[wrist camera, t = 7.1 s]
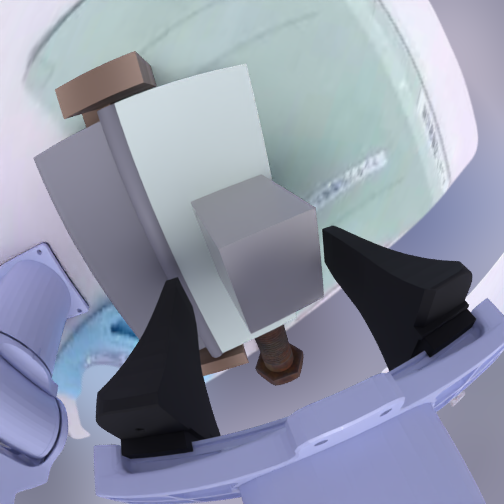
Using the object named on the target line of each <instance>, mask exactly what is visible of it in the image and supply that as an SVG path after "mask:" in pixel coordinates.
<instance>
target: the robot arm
mask: <svg viewBox="0 0 504 504" xmlns="http://www.w3.org/2000/svg"><path fill="white" fill-rule="evenodd" d="M322 232H323V245H324V259H325V263H326V265H327V267H328V269H329V270H330V272H331V274H332V275H333V277H334V279H335V280H336V281H337V283H338V284H339V285H340V286H341V288H342V289H343V290H344V292H345V293H346V294H347V295H348V297H349V298H350V299H351V301H352V302H353V303H354V305H355V306H356V307H357V309H358V310H359V312H360V313H361V315H362V317H363V318H364V320H365V322H366V323H367V325H368V327H369V329H370V331H371V333H372V335H373V336H374V338H375V340H376V342H377V344H378V346H379V348H380V351H381V353H382V355H383V357H384V359H385V362H386V364H387V367H388V369H389V372H387V373H380V374H377V375H375V376H372V377H370V378H368V379H366V380H364V381H361V382H360V383H357V384H355V385H353V386H351V387H349V388H347V389H345V390H342V391H340V392H338V393H335V394H333V395H331V396H328V397H326V398H324V399H321V400H319V401H317V402H314V403H311V404H309V405H307V406H305V407H303V408H301V409H299V410H297V411H295V412H294V413H293V414H291V415H290V416H288V417H285V418H282V419H279V420H276V421H273V422H270V423H266V424H263V425H260V426H256V427H253V428H249V429H246V430H242V431H238V432H235V433H231V434H227V435H222V436H220V432H219V429H218V427H217V424H216V421H215V418H214V414H213V411H212V408H211V404H210V401H209V397H208V393H207V390H206V387H205V382H204V378H203V373H202V368H201V361H200V352H199V342H198V332H197V323H196V319H195V314H194V310H193V306H192V304H191V302H190V300H189V298H188V296H187V294H186V292H185V290H184V288H183V286H182V284H181V282H180V280H179V278H178V277H176V278H173V279H170V280H167V281H166V282H165V284H164V286H163V289H162V291H161V294H160V297H159V299H158V302H157V304H156V307H155V309H154V311H153V314H152V316H151V318H150V320H149V323H148V325H147V327H146V329H145V331H144V333H143V335H142V337H141V338H140V340H139V342H138V343H137V345H136V347H135V348H134V350H133V351H132V353H131V354H130V355H129V357H128V358H127V360H126V361H125V363H124V364H123V365H122V366H121V368H120V369H119V370H118V371H117V373H116V374H115V375H114V376H113V377H112V378H111V379H110V381H109V382H108V383H107V384H106V385H105V386H104V387H103V388H102V389H101V390H100V391H99V392H98V394H97V403H96V422H97V423H98V425H99V426H100V427H101V428H103V429H104V430H106V431H107V432H109V433H111V434H112V435H114V436H116V437H118V438H120V439H121V446H120V445H95V446H94V474H95V489H96V495H97V496H99V497H103V498H106V499H110V500H115V501H119V502H124V503H129V504H183V503H198V502H208V501H217V500H226V499H232V498H239V497H242V500H243V504H486V502H485V500H484V498H483V497H482V494H481V492H480V490H479V488H478V486H477V484H476V482H475V480H474V479H473V476H472V475H471V473H470V471H469V469H468V467H467V465H466V463H465V462H464V460H463V458H462V456H461V454H460V453H459V451H458V449H457V447H456V446H455V444H454V442H453V440H452V439H451V437H450V435H449V433H448V432H447V430H446V429H445V427H444V425H443V423H442V422H441V420H440V419H439V417H438V415H437V414H436V412H437V411H438V410H440V409H441V408H442V407H443V406H445V405H446V404H447V403H449V402H450V401H451V400H452V399H454V398H455V397H456V396H457V395H458V394H460V393H461V392H462V391H463V390H464V389H465V388H466V387H468V386H469V385H470V384H471V383H472V382H473V381H474V380H475V379H476V378H478V376H480V375H481V374H482V373H483V372H484V371H485V370H486V369H487V368H488V367H489V366H490V365H491V364H492V363H493V362H494V361H495V360H496V359H497V358H498V356H499V355H500V354H501V353H502V351H503V350H504V315H503V314H502V313H501V312H500V311H499V310H498V309H497V307H496V306H495V305H494V304H493V303H492V302H491V301H490V300H489V299H488V298H487V299H485V300H484V301H483V302H481V303H480V304H479V305H478V306H476V307H475V308H474V309H473V310H472V312H470V311H469V310H468V309H467V308H468V307H469V304H468V303H467V302H466V301H465V298H466V296H467V293H468V291H469V288H470V285H471V282H472V273H471V271H469V270H468V269H467V268H466V267H465V266H464V265H463V264H462V263H461V262H459V261H442V260H435V259H427V258H421V257H417V256H412V255H408V254H404V253H401V252H397V251H394V250H391V249H388V248H385V247H382V246H380V245H377V244H375V243H372V242H370V241H367V240H365V239H363V238H361V237H358V236H356V235H354V234H352V233H350V232H347V231H345V230H343V229H341V228H338V227H336V226H330V227H327V228H324V229H322ZM39 250H41V252H39ZM80 309H81V310H80ZM88 310H89V307H88V305H87V304H86V302H85V301H84V300H83V298H82V297H81V296H80V294H79V293H78V291H77V290H76V288H75V287H74V286H73V284H72V283H71V281H70V280H69V278H68V277H67V275H66V274H65V272H64V271H63V269H62V268H61V266H60V264H59V263H58V261H57V260H56V258H55V256H54V255H53V253H52V252H51V250H50V248H49V247H48V245H47V244H45V243H42V244H40V245H38V246H36V247H34V248H32V249H30V250H28V251H26V252H24V253H22V254H21V255H19V256H17V257H15V258H13V259H11V260H10V261H8V262H6V263H4V264H3V265H1V266H0V442H1V443H3V444H5V445H6V446H8V447H10V448H8V447H5V446H2V445H0V504H14V500H15V494H16V493H18V492H21V491H24V490H27V489H31V488H34V487H37V486H39V485H42V484H45V483H46V482H47V481H48V476H49V472H50V469H51V466H52V464H53V462H54V461H55V459H56V458H57V457H58V455H59V454H60V453H61V451H62V450H63V448H64V446H65V443H66V440H67V435H68V417H67V412H66V408H65V406H64V404H63V403H62V402H61V400H60V399H58V398H57V397H56V396H57V390H58V385H57V384H56V383H55V382H54V381H53V380H52V374H53V369H54V365H55V360H56V356H57V352H58V348H59V344H60V340H61V336H62V333H63V329H64V325H65V322H66V319H68V318H71V317H74V316H78V315H81V314H84V313H87V312H88Z"/></svg>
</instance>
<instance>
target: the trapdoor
mask: <svg viewBox="0 0 504 504" xmlns="http://www.w3.org/2000/svg"><path fill="white" fill-rule="evenodd" d="M97 114H98V117H99V120H100V122H98V123H95V124H93V125H91V126H89V127H87V128H85V129H83V130H81V131H79V132H77V133H76V134H74V135H72V136H70V137H68V138H66V139H64V140H63V141H61V142H59V143H57V144H56V145H54V146H52V147H50V148H49V149H47V150H45V151H44V152H42V153H41V154H39V155H37V156H36V157H34V161H35V163H36V166H37V168H38V170H39V173H40V175H41V177H42V180H43V182H44V184H45V187H46V189H47V191H48V193H49V195H50V197H51V199H52V202H53V204H54V206H55V208H56V210H57V212H58V214H59V216H60V218H61V220H62V221H63V223H64V225H65V227H66V229H67V231H68V233H69V235H70V236H71V238H72V240H73V242H74V243H75V245H76V247H77V249H78V250H79V252H80V254H81V255H82V257H83V259H84V260H85V262H86V264H87V265H88V267H89V269H90V270H91V272H92V273H93V275H94V277H95V278H96V280H97V281H98V283H99V284H100V286H101V287H102V289H103V290H104V292H105V293H106V295H107V296H108V298H109V299H110V300H111V302H112V303H113V305H114V306H115V308H116V309H117V310H118V312H119V313H120V314H121V316H122V317H123V319H124V320H125V321H126V323H127V324H128V325H129V327H130V328H131V329H132V330H133V332H134V333H135V334H136V336H137V337H138V338H139V339H140V338H141V337H142V335H143V333H144V331H145V329H146V327H147V325H148V323H149V320H150V318H151V316H152V314H153V311H154V309H155V307H156V304H157V302H158V299H159V297H160V294H161V291H162V289H163V286H164V284H165V282H166V281H167V280H170V279H173V278H176V277H178V278H179V280H180V282H181V284H182V286H183V288H184V290H185V292H186V294H187V296H188V298H189V300H190V302H191V304H192V306H193V310H194V314H195V319H196V323H197V332H198V342H199V350H200V349H203V348H205V347H206V348H207V349H208V351H209V353H210V354H211V356H212V357H214V358H217V357H220V356H221V355H222V353H224V352H226V351H228V350H231V349H233V348H235V347H237V346H239V345H242V344H244V343H246V342H248V341H250V340H252V339H254V338H257V337H259V336H261V335H263V334H265V333H267V332H269V331H271V330H273V329H275V328H277V327H279V326H281V325H283V324H285V323H287V322H289V321H291V320H293V319H295V318H297V316H296V312H295V313H293V314H291V315H289V316H287V317H285V318H283V319H281V320H279V321H277V322H275V323H273V324H271V325H269V326H267V327H265V328H263V329H261V330H259V331H257V332H255V333H252V334H251V333H250V332H249V330H248V328H247V326H246V325H245V323H244V321H243V319H242V317H241V316H240V314H239V312H238V310H237V308H236V307H235V305H234V303H233V301H232V299H231V298H230V296H229V294H228V292H227V290H226V288H225V286H224V285H223V283H222V281H221V279H220V277H219V275H218V273H217V270H216V268H215V265H214V263H213V260H212V258H211V255H210V252H209V250H208V247H207V245H206V242H205V240H204V237H203V234H202V232H201V229H200V226H199V224H198V221H197V219H196V216H195V213H194V210H193V208H192V205H191V201H194V200H196V199H199V198H201V197H204V196H206V195H209V194H211V193H214V192H216V191H219V190H221V189H224V188H226V187H229V186H232V185H234V184H237V183H239V182H242V181H245V180H247V179H250V178H253V177H256V176H258V175H261V174H262V175H264V176H265V177H267V178H269V179H270V180H272V176H271V171H270V166H269V162H268V157H267V152H266V147H265V143H264V138H263V133H262V129H261V124H260V120H259V115H258V111H257V106H256V102H255V98H254V93H253V89H252V85H251V81H250V76H249V72H248V68H247V64H242V65H237V66H232V67H227V68H223V69H218V70H214V71H210V72H206V73H202V74H198V75H195V76H191V77H187V78H184V79H181V80H177V81H174V82H171V83H168V84H165V85H162V86H159V87H156V88H153V89H150V90H147V91H144V92H142V93H139V94H136V95H134V96H131V97H129V98H126V99H124V100H121V101H119V102H117V103H114V104H112V105H109V106H107V107H105V108H103V109H101V110H99V111H97Z"/></svg>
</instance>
